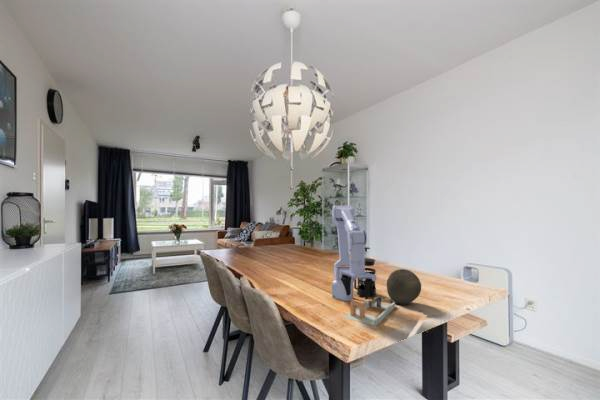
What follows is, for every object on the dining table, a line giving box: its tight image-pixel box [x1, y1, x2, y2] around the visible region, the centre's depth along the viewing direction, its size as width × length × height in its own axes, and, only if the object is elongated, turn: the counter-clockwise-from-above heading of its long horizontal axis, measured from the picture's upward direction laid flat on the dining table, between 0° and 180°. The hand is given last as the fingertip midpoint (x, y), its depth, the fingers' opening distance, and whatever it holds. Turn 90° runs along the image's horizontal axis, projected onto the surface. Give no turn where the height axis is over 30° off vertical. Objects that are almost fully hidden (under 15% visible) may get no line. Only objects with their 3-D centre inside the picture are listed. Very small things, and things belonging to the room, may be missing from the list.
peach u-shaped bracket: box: [349, 299, 366, 318], centre depth 104 cm, size 5×2×5 cm, turn 54°
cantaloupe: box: [386, 268, 422, 305], centre depth 120 cm, size 14×14×15 cm
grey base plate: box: [343, 300, 396, 327], centre depth 108 cm, size 13×22×3 cm, turn 144°
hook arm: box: [368, 295, 382, 309], centre depth 109 cm, size 2×11×6 cm, turn 144°
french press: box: [353, 246, 377, 298], centre depth 133 cm, size 12×9×23 cm
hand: (357, 296), depth 104 cm, fingers open, 7 cm apart
